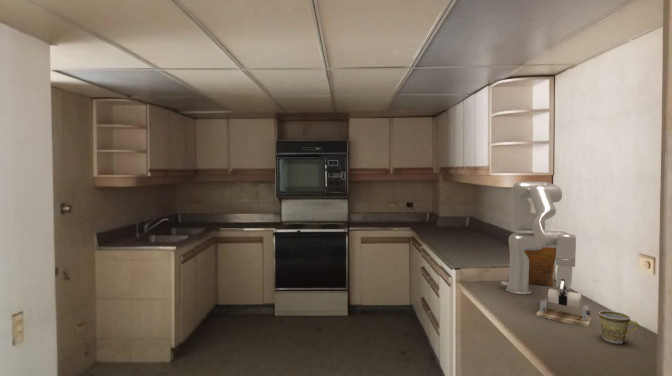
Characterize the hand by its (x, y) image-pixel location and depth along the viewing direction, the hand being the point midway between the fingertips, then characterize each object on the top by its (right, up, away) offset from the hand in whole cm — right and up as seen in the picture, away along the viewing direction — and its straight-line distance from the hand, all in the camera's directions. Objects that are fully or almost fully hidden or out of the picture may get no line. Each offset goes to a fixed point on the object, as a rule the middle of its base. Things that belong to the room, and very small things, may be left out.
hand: (564, 302), depth 187 cm
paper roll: (0, -1, 0) cm, 1 cm away
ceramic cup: (+7, -9, -24) cm, 27 cm away
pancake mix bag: (+16, -5, +58) cm, 60 cm away
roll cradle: (0, -7, +1) cm, 7 cm away
